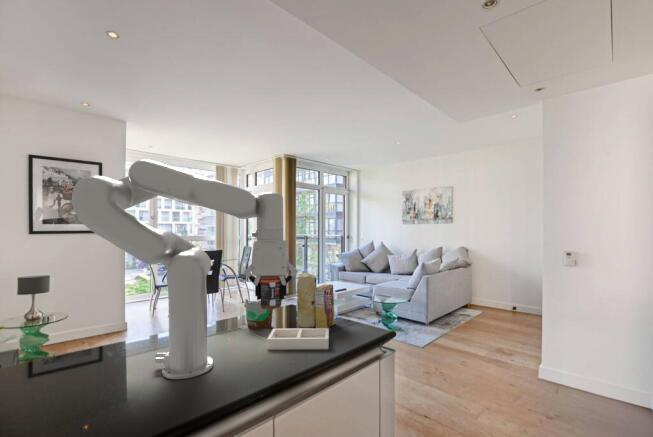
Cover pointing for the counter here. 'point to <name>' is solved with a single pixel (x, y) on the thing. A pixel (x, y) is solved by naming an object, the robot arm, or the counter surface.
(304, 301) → the food model
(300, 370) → the counter surface
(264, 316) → the food container
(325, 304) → the candy box
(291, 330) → the holder
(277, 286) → the supplement bottle
